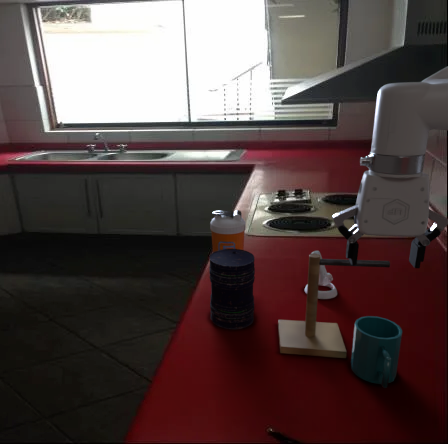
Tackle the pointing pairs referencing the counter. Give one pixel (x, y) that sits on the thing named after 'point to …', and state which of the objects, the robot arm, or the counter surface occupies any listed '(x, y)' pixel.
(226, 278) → the storage jar
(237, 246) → the shaker bottle
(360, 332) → the mug
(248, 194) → the counter surface
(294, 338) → the mug stand
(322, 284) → the vr controller
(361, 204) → the robot arm
